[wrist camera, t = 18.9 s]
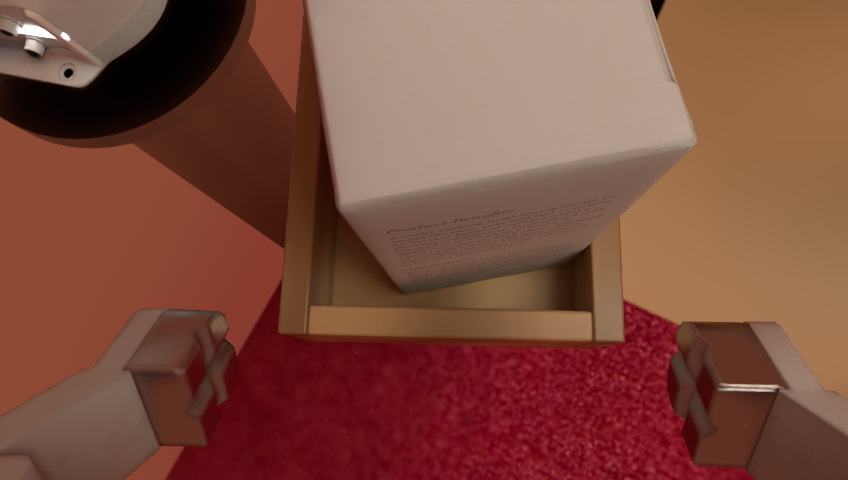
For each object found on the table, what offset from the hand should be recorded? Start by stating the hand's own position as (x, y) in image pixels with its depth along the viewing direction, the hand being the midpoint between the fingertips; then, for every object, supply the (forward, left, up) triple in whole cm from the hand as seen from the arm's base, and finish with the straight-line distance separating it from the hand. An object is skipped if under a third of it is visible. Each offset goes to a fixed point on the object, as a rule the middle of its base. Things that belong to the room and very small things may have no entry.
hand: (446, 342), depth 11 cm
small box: (0, +6, -8) cm, 10 cm away
